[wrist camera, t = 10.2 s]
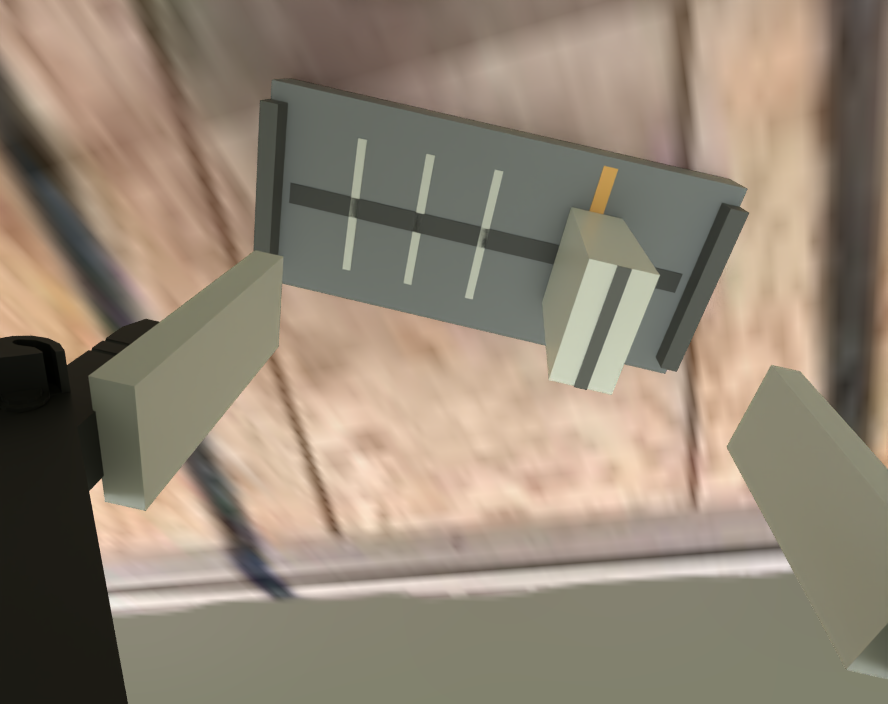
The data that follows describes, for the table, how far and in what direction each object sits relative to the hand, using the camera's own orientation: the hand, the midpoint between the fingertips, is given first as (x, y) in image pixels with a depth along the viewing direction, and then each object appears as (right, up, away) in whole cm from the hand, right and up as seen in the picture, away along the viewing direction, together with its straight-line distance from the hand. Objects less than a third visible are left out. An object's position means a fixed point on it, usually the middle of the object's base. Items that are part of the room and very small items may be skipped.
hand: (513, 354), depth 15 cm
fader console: (+1, +8, +21) cm, 23 cm away
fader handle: (+6, +5, +18) cm, 20 cm away
